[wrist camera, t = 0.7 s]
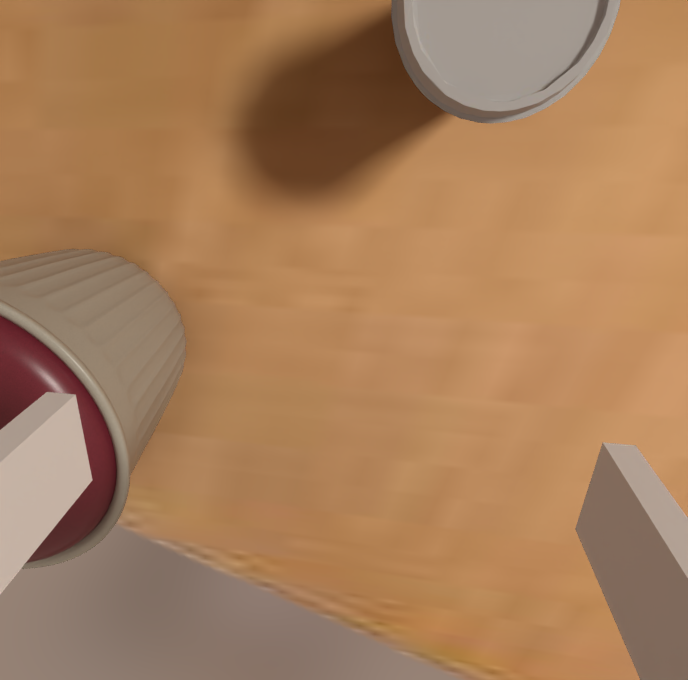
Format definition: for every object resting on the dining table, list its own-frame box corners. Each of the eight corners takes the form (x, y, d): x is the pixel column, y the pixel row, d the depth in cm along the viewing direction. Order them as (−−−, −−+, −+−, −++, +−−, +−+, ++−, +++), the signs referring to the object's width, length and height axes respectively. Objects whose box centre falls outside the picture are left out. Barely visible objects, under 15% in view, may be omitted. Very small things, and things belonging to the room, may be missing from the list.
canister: (267, 317, 40) (153, 502, 21) (151, 453, 47) (-17, 690, 28) (67, 159, 37) (-291, 210, 17) (-28, 331, 43) (-365, 506, 24)
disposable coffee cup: (360, 28, 32) (343, -16, 21) (489, -102, 29) (549, -236, 18) (452, 152, 34) (480, 170, 23) (580, 43, 31) (682, 6, 20)
